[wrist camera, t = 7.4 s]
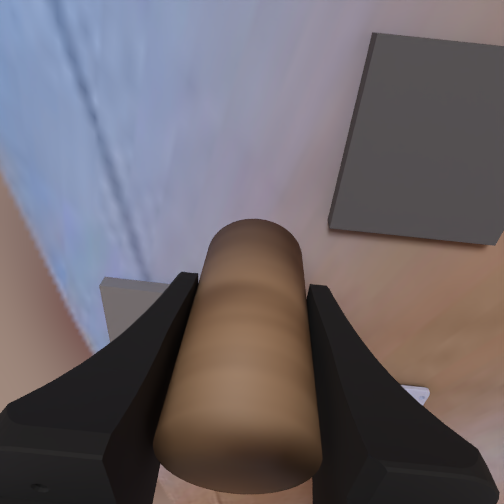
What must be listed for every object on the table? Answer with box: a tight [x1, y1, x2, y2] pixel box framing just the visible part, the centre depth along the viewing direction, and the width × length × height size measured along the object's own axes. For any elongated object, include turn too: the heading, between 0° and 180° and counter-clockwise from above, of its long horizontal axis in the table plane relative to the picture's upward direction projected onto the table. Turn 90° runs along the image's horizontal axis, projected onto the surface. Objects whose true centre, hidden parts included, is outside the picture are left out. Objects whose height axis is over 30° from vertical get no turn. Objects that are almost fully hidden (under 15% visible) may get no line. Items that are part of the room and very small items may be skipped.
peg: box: [153, 219, 322, 494], centre depth 12 cm, size 4×4×8 cm
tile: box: [99, 277, 170, 343], centre depth 28 cm, size 2×6×8 cm
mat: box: [328, 32, 504, 245], centre depth 19 cm, size 10×10×1 cm
